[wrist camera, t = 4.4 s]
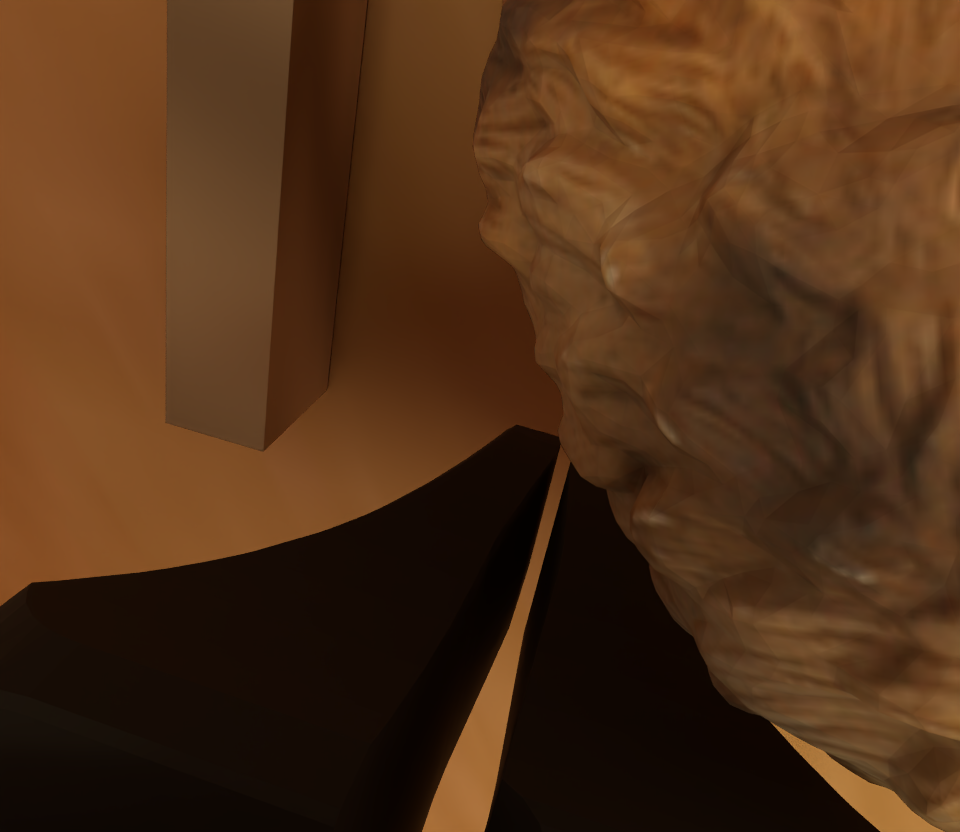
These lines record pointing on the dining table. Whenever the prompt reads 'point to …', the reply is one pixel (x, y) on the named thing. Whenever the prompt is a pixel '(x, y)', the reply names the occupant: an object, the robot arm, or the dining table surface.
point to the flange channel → (255, 207)
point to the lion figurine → (759, 336)
